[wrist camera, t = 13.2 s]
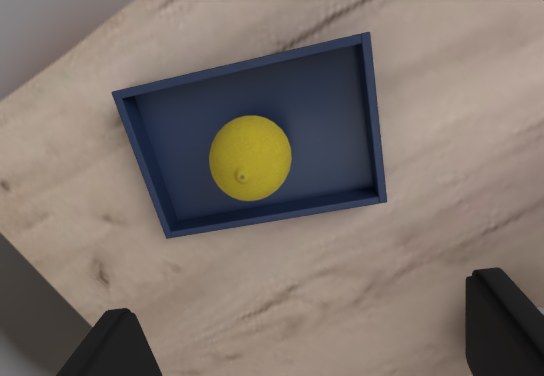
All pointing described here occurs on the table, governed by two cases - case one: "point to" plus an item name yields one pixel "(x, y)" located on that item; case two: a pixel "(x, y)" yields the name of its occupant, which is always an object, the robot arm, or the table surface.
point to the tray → (277, 108)
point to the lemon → (250, 158)
